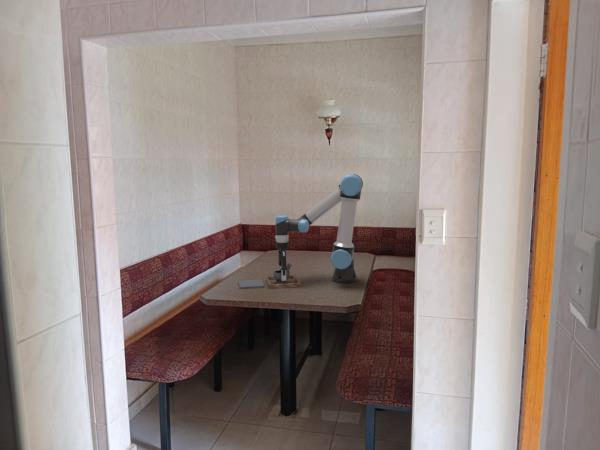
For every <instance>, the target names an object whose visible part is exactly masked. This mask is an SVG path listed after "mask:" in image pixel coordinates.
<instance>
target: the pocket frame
mask: <svg viewBox="0 0 600 450" xmlns="http://www.w3.org/2000/svg"><path fill="white" fill-rule="evenodd" d="M292 279H293V280H294V282H291V283H288V282H287V283H286V284H277V283H273V284H272V283H271V281H272V280H274V281H277V280H276V279H275V278H274V275H266V276H264V281H265V283H266V285H267V287H268V289H269V290H270V289H284V288H285V289H286V288H301V287H302V286H303V285H302V282H301V280H300V279H299V277H298V276H297V275H296V274H290V275H289V278H288V279H287V280H292Z"/></svg>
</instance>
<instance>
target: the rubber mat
mask: <svg viewBox="0 0 600 450" xmlns="http://www.w3.org/2000/svg"><path fill="white" fill-rule="evenodd" d="M238 288H239V289H240V290H242V289H243V290H246V289H260V288H261V289H262V288H263V289H264V288H265V284H264V282H263V279H259V278H258V279H244V280H243V279H242V280H238Z"/></svg>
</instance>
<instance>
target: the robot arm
mask: <svg viewBox="0 0 600 450" xmlns="http://www.w3.org/2000/svg"><path fill="white" fill-rule="evenodd" d="M363 186H364V182H363V179H362V177H360V176H359V175H358V174H355V173H353V174H352V173H350V174H347V175H345V176H344V177H343V178H341V181H340V183H339V184H338V185H337V188H336V189H335V190H333V191H332V192H330V194H328V195H327V196H326V197H324V198H323V199H322V200H321V201H319V202H318V203H317V204H316V205H314V206H312V208H311V209H308V210H307V212H305V213H304V214H303V215H301V216H300V217H299V218H295V219H293V218H289V216H288V215H277V216H276V217H275V223H274V225H275V236H274V238H275V249H277V250H278V261H277V263H278V270H281V278H282V281H287V280H286V269H287V251H286V250H287V249H289V233H307V232H309V228H310V226H311V225H312V224H314V223H316V221H317V220H319V219H320V218H321V217H323V216H325V214H327V213H328V212H329V211H331V210H332V209H334V208H335V207H336V206H338V204H340V213H339V219H338V220H339V221H338V226H337V227H338V229H337V236H336V241H334V243H333V246H332V253H331V255H330V262H331V264H332V266H333V267H334V270H333V272H332V274H331V275H332V276H331V280H332V281H333V282H335V283H344V284H345V283H346V284H347V283H348V282H350V283H355V282H356V281H358V276H357V273H356V270H355V244H354V243H353V242H352V240H353V235H354V227H355V221H356V220H355V218H356V214H357V213H356V211H357V205H358V204H357V203H358V202H359V201H360V200H361V196H362V195H361V194H362V189H363ZM354 281H355V282H354Z"/></svg>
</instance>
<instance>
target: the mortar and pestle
mask: <svg viewBox="0 0 600 450" xmlns="http://www.w3.org/2000/svg"><path fill="white" fill-rule="evenodd" d="M286 266H287V269H286V281H282V278H281V270H279V269H277V270H274V271H273V272H272V276H274V278H275V279H276V280H275V281H276V283H275V284H286V283H288V282H287V280H289V279H288V278H289V275H291V273H290V270H291V267H292V266H293V265H292V264H291V263H289V262H288V263H286Z"/></svg>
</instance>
